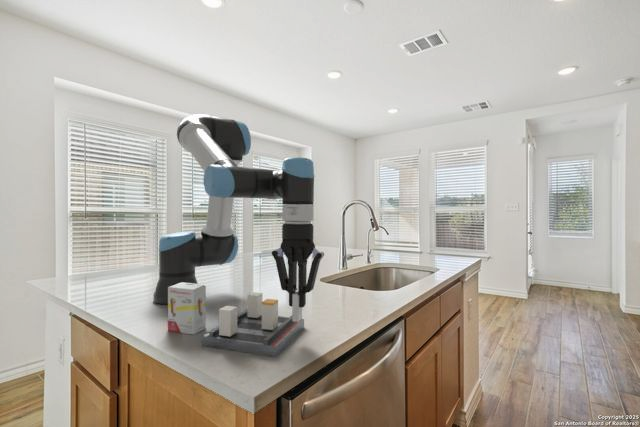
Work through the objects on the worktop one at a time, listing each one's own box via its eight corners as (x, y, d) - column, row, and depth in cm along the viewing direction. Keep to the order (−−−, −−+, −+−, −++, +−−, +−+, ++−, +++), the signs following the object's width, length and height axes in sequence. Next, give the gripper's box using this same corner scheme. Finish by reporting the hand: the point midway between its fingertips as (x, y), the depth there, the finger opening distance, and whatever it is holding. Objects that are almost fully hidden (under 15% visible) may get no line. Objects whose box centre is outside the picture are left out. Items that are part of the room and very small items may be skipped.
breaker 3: (261, 328, 78) (261, 302, 78) (267, 324, 81) (267, 298, 81) (272, 330, 77) (272, 303, 77) (277, 325, 80) (278, 299, 80)
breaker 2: (247, 316, 86) (247, 294, 86) (252, 313, 89) (252, 292, 89) (257, 318, 86) (257, 295, 85) (262, 314, 88) (262, 293, 88)
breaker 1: (219, 335, 74) (219, 309, 74) (226, 330, 77) (226, 305, 77) (230, 336, 73) (230, 310, 73) (237, 331, 76) (237, 306, 76)
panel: (201, 345, 74) (201, 330, 74) (242, 319, 91) (242, 307, 91) (276, 357, 69) (276, 341, 69) (304, 327, 86) (304, 314, 86)
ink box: (166, 331, 83) (166, 286, 83) (180, 324, 87) (180, 281, 87) (193, 335, 80) (193, 288, 80) (206, 328, 85) (206, 284, 85)
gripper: (266, 222, 75) (265, 322, 75) (319, 224, 71) (318, 328, 71) (279, 221, 82) (278, 312, 82) (328, 222, 78) (327, 317, 79)
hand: (297, 319), depth 77 cm, fingers closed
